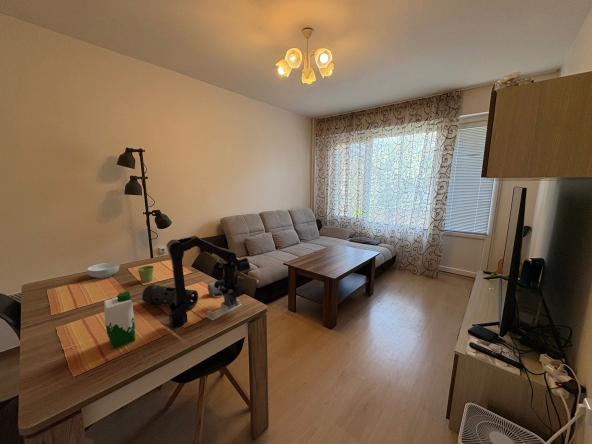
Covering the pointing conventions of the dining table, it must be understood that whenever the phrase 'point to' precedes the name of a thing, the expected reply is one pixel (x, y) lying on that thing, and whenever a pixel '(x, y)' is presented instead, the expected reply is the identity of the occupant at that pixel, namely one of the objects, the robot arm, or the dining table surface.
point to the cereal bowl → (103, 270)
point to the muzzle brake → (164, 295)
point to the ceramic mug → (213, 290)
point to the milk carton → (119, 320)
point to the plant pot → (145, 273)
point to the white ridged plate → (222, 310)
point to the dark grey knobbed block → (228, 299)
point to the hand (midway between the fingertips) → (230, 302)
